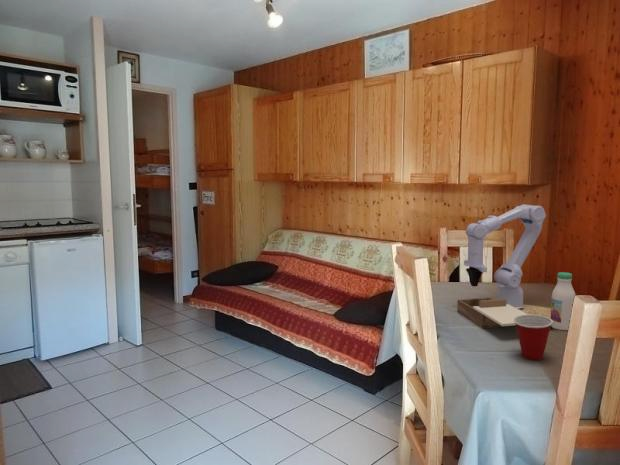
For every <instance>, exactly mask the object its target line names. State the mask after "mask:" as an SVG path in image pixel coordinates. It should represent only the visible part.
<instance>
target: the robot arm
mask: <svg viewBox="0 0 620 465" xmlns="http://www.w3.org/2000/svg"><path fill="white" fill-rule="evenodd" d="M546 217H547V214H546V211H545V209H544V207H543V206H541V205H532V204H526V203H525V204H524V203H523V204H521V205H518V206H515V207H514V208H513V209H510V210H509V211H507V212H504V213H503V214H500V215H499V216H496V215H491V214H490V215H487V218H485V219H481V220H480V219H479V220H478V221H477V223H475V222H474V223H473V222H471V223H470V224H468V225H467V227H466V229H465V234H466V236H467V242H468V243H467V260H466V259H465V260H463V265H464V266H466V267H469V268H466V269H465V270H466V273H467V275H468V277H469V282H470V286H471V287H478V286H479V283H480V278H481V277H482V275H483V274H484V273H488V267H487V266H485V265H484V264H483V261H484V259H483V258H484V239H485V238H486V236H487V234H489V233H492V232H494V231H497V230H499V229H500V228H501V227H502V225H503V224H507V223H509V222H510V221H512V222H513V221H514V220H517V219H519V220H520V221H521V223H522V224H523V226H524V228H525V229H524V231H523V233H522V235H521V237H520V238H519V241H518V242H517V243H516V246H515V248H514V249H513V252H512V253H511V255H510V256H509V258H508V260H507V262H505V263H503V264H501V266H500V267H499V268H498V269H497V270H496V271H495V272H494V275H493V279H494V281H495V282H496V285H497V290H496V291H497V294H496V295H497V297H496V299H505V300H506V304H509V305H511V306H513V307H522V306H523V307H524V290H523V288H522V287H521V286H520V284H521V282H522V280H521V279H522V276H523V275H524V273H523V271H522V266H523V264H524V263H525V262H526V261H525V260H526V259H527V258H528V256H529V254H530V252H531V250H532V248H533V246H534V244H536V242H537V239H538V237H539V236H540V234H541V232H542V230H543V222H544V221H545V218H546Z"/></svg>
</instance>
